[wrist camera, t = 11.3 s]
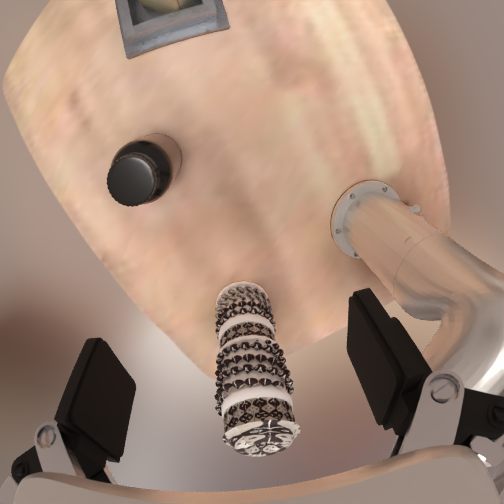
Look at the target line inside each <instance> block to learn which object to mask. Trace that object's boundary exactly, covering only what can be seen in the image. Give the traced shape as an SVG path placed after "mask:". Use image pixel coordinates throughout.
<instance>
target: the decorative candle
mask: <svg viewBox="0 0 504 504" xmlns="http://www.w3.org/2000/svg"><path fill="white" fill-rule="evenodd" d="M216 306H217V308H215V310H216V311H218V312H219V314H216V315H215V317H216V318H218V321H217V322H216V326H217V327H219V328H217V329H216V333H217V334H218V337H217V338H218V340H219V345H220V350H219V353H218V356H217V360H216V363H217V364H218V366H217V371H216V372H215V374H216V376H218V377H217V382H216V386H217V387H218V389H217V391H216V392H217V394H216V395H215V399H216V400H218V401H217V404H218V405H217V406H216V407H215V409H216V410H217V411H219V412H218V414H219V415H220V416H222V417H223V419H224V431H225V434H224V436H223V440H224V442H225V444H227V445H229V446H231V447H233V448H234V449H235V451H236V452H238V453H240V454H243V455H246V456H266V455H271V454H275V453H278V452H281V451H283V450H285V449H286V448H287V447H288V446H289V445H291V443H292V441H293V439H294V438H295V437H296V436H297V435H298V434H299V433H300V426H298V425H297V424H296V423H295V419H294V415H293V413H292V412H293V404H292V399H291V394H292V393H293V391H294V389H293V387H292V386H291V385H292V384H293V381H292V380H291V379H290V378H289V375H290V371H289V370H287V367H286V365H285V364H284V363H285V362H286V359H285V358H284V357H282V355H283V350H282V349H281V348H280V346H279V345H278V344H277V342H276V339H275V331H276V330H275V328H274V326H275V322H274V321H273V320H272V319H273V314H271V311H272V308H271V306H270V301H269V300H268V296H267V294H266V292H265V291H264V289H263V288H262V287H260V286H259V285H257V284H255V283H252V282H246V281H241V282H234V283H232V284H230V285H228V286H226V287H224V288H223V289H222V291H221V292H220V293H219V294H218V297H217V300H216ZM221 372H222V374H221ZM284 380H285V382H284ZM222 383H223V385H222ZM287 388H288V392H287ZM222 395H223V396H224V400H223V399H222V398H221V397H222Z"/></svg>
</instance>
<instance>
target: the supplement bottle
mask: <svg viewBox="0 0 504 504" xmlns="http://www.w3.org/2000/svg"><path fill="white" fill-rule="evenodd" d="M181 161H182V156H181V151H180V149H179V146H178V145H177V143H176V142H175V141H174V140H173V139H171V138H170V137H168V136H166V135H163V134H151V135H147V136H144V137H142V138H139V139H136V140H134V141H131V142H129V143H127V144H126V145H124V146H123V147H122V148H121V149H119V151H118V152H117V153H116V155H115V156H114V158H113V160H112V163H111V168H110V169H109V173H108V177H107V185H108V189H109V193H110V194H111V195H112V197H113V198H114V199H115V200H116V201H118V203H120V204H122V205H126V206H132V207H133V206H138V205H141V204H148V203H151V202H154V201H156V200H158V199H159V198H160V197H162V196H163V195H164V194H165V193H166V191H167V190H168V189H169V187H170V185H171V183H172V182H173V180H174V178H175V177H176V175H177V173H178V171H179V169H180V166H181Z"/></svg>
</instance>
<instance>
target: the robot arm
mask: <svg viewBox="0 0 504 504" xmlns="http://www.w3.org/2000/svg"><path fill="white" fill-rule="evenodd" d="M350 195H351V196H350ZM420 211H421V208H420V205H419V204H415V205H411V206H407V205H405V204H404V203H402V202H401V199H400V197H399V195H398V194H397V192H396V191H395V190H394V189H393V188H392V187H390V186H389V185H387V184H385V183H383V182H380V181H373V180H369V181H364V182H360V183H358V184H356V185H354V186H353V187H351V188H350V189H348V190H347V191H346V192H345V193H344V194H343V195H342V196H341V198H340V199H339V201H338V202H337V204H336V206H335V208H334V211H333V214H332V219H331V232H332V236H333V239H334V241H335V243H336V245H337V246H338V247H339V249H340V250H341V251H342V252H343V253H344V254H346V255H348V256H349V257H352V258H356V259H363V261H364V262H365V263H366V264H367V265H368V267H369V268H370V269H371V270H372V271H373V272H374V274H375V275H376V276H377V277H378V278H379V280H380V281H381V282H382V283H383V285H384V286H385V287H386V288H387V289H388V291H389V292H390V293H391V294H392V296H393V297H394V298H395V299H396V301H397V302H398V303H399V305H400V306H401V307H402V308H403V309H404V310H405V312H407V313H408V314H409V315H411V316H412V317H414V318H417V319H420V320H429V321H435V320H441V325H440V327H439V329H438V331H437V332H436V334H435V335H434V337H433V338H432V340H431V342H430V343H429V344H428V346H427V347H426V348H425V349H424V351H423V352H422V353H421V352H420V351H419V349H418V348H417V346H416V345H415V343H414V342H413V340H412V339H411V337H410V336H409V334H408V333H407V331H406V330H405V328H404V327H403V325H402V324H401V323H400V321H399V320H398V319H397V318H395V317H392V318H390V316H389V315H388V313H387V312H386V311H385V309H384V308H383V306H382V305H381V303H380V302H379V300H378V299H377V298H376V296H375V295H374V293H373V292H372V291H371V289H370V288H366V289H362V290H359V291H355V292H354V293H353V296H352V297H349V311H348V333H347V335H348V336H347V352H348V355H349V357H350V360H351V362H352V365H353V367H354V369H355V371H356V374H357V376H358V378H359V381H360V383H361V386H362V388H363V390H364V393H365V395H366V398H367V400H368V402H369V405H370V407H371V410H372V412H373V415H374V417H375V420H376V422H377V424H378V425H383V427H384V430H388V429H390V428H393V430H394V432H395V434H396V435H398V436H397V438H396V441H395V443H394V445H393V448H392V450H391V452H390V455H389V457H388V459H385V460H382V461H379V462H375V463H372V464H369V465H366V466H363V467H360V468H357V469H353V470H350V471H347V472H343V473H339V474H335V475H331V476H327V477H323V478H319V479H315V480H311V481H306V482H301V483H295V484H290V485H284V486H277V487H270V488H262V489H253V490H242V491H227V492H175V491H160V490H150V489H141V488H134V487H127V486H121V485H118V484H117V482H116V481H115V479H114V478H113V476H112V474H111V473H110V471H109V469H108V467H107V465H106V460H108V461H110V462H118V463H119V461H120V457H121V456H122V455H123V453H124V447H125V441H126V435H127V430H128V425H129V419H130V414H131V410H132V404H133V400H134V396H135V391H136V384H135V382H134V380H133V379H132V378H131V376H130V375H129V374H128V372H127V371H126V369H125V368H124V367H123V365H122V364H121V363H120V361H119V360H118V358H117V357H116V356H115V354H114V353H113V351H112V350H111V348H110V347H109V345H108V344H107V342H105V341H103V339H101V338H90V339H87V340H86V342H85V344H84V346H83V349H82V351H81V353H80V355H79V357H78V360H77V362H76V364H75V366H74V369H73V371H72V374H71V376H70V378H69V381H68V383H67V386H66V389H65V391H64V393H63V396H62V399H61V401H60V404H59V407H58V410H57V413H56V415H55V418H54V419H55V420H56V421H57V422H58V424H57V425H55V424H54V423H52V422H46V423H43V424H42V425H41V426H39V428H38V429H37V431H36V433H35V438H34V442H35V446H33V447H32V448H31V449H29V450H28V451H26V452H25V453H24V454H22V455H21V456H19V457H18V458H17V459H16V460H15V461H14V463H13V465H12V470H11V473H12V476H11V475H9V477H8V478H7V479H6V481H5V482H4V483H3V485H2V486H1V487H0V504H504V274H503V273H502V272H499V271H498V270H496V269H495V268H493V267H491V266H490V265H488V264H486V263H485V262H483V261H482V260H480V259H479V258H477V257H476V256H474V255H473V254H471V253H470V252H469V251H467V250H466V249H464V248H463V247H462V246H460V245H459V244H457V243H456V242H455V241H454V240H452V239H451V238H449V237H448V236H447V235H445V234H444V233H442V232H441V231H440V230H438V229H437V228H435V227H434V226H432V225H431V224H430V223H428V222H427V221H426V219H425V217H424V216H418V215H416V213H420ZM336 229H337V230H336ZM490 466H493V467H494V470H495V478H494V481H493V479H492V477H491V475H490V473H489V471H488V469H487V468H486V467H490Z"/></svg>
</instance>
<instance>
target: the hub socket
mask: <svg viewBox="0 0 504 504" xmlns="http://www.w3.org/2000/svg"><path fill="white" fill-rule="evenodd" d="M115 3H116V9H117V14H118V19H119V24H120V29H121V34H122V39H123V43H124V48H125V52H126V57H127V58H128V59H131V58H134V57H136V56H139V55H141V54H144V53H146V52H149V51H152V50H155V49H157V48H160V47H163V46H166V45H169V44H172V43H176V42H179V41H182V40H186V39H189V38H193V37H196V36H200V35H204V34H208V33H212V32H217V31H221V30H226V29H229V28H230V26H229V23H228V19H227V16H226V12H225V9H224V5H223V2H222V0H196V1H195V2H194V3H193V5H192V6H191V7H190V8H186V9H182V10H179V11H175V12H172V13H169V14H163V13H160V12H157V11H154V10H151V9H149V8H146V7H143V6H141V4H140V3H139V1H138V0H115Z"/></svg>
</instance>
